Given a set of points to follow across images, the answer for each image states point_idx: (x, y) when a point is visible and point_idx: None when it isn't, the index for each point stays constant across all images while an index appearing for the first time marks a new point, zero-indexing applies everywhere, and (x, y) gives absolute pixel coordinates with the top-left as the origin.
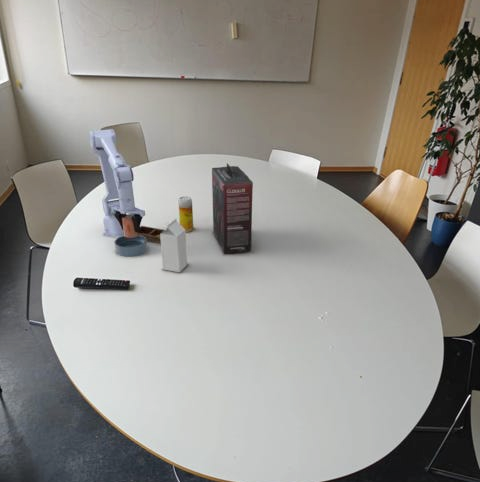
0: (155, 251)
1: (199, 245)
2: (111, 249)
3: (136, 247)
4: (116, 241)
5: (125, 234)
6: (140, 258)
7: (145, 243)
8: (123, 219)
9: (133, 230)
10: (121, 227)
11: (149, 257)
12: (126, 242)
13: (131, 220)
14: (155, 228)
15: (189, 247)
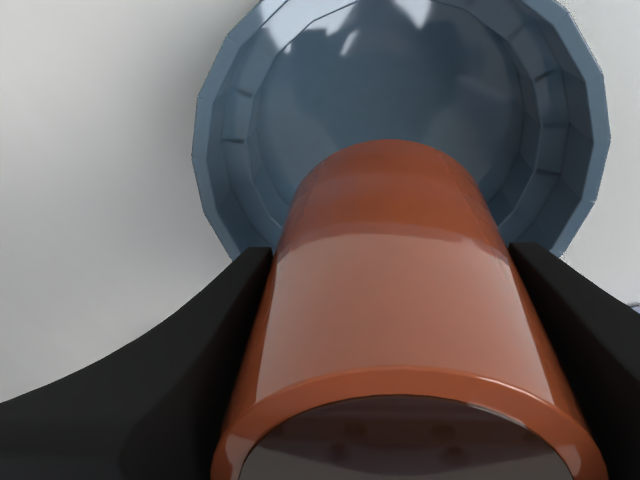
0: (179, 210)
1: (3, 394)
2: (628, 60)
3: (215, 63)
4: (582, 105)
5: (420, 158)
6: (189, 16)
7: (206, 205)
8: (464, 357)
9: (278, 246)
10: (554, 257)
11: (131, 82)
12: (499, 212)
13: (239, 390)
14: None
15: (27, 354)
